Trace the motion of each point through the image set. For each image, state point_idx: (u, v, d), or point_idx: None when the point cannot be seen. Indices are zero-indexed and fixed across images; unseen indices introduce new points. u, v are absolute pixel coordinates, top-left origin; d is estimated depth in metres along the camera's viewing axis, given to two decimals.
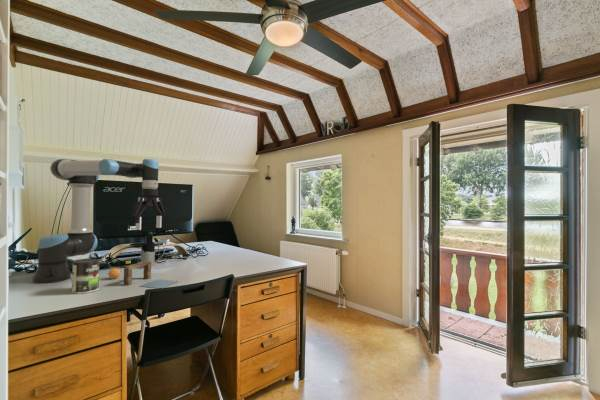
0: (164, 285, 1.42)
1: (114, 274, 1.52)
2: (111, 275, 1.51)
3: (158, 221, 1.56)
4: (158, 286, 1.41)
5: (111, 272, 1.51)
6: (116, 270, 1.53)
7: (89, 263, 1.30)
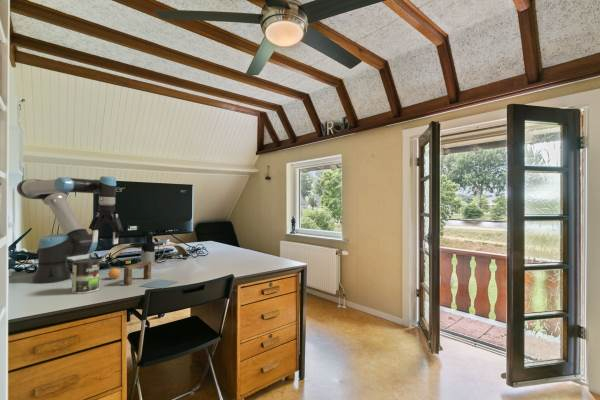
0: (164, 285, 1.42)
1: (114, 274, 1.52)
2: (111, 275, 1.51)
3: None
4: (158, 286, 1.41)
5: (111, 272, 1.51)
6: (116, 270, 1.53)
7: (89, 263, 1.30)
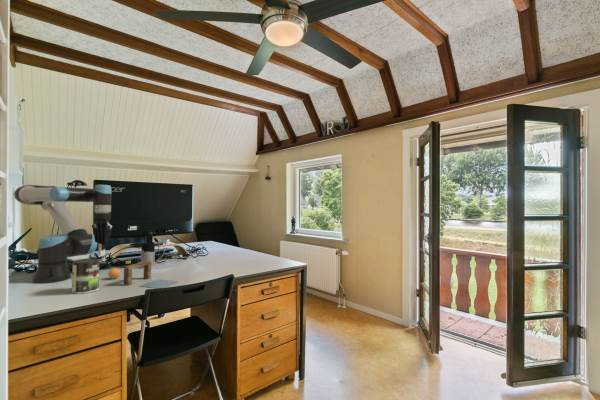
0: (164, 285, 1.42)
1: (114, 274, 1.52)
2: (111, 275, 1.51)
3: None
4: (158, 286, 1.41)
5: (111, 272, 1.51)
6: (116, 270, 1.53)
7: (89, 263, 1.30)
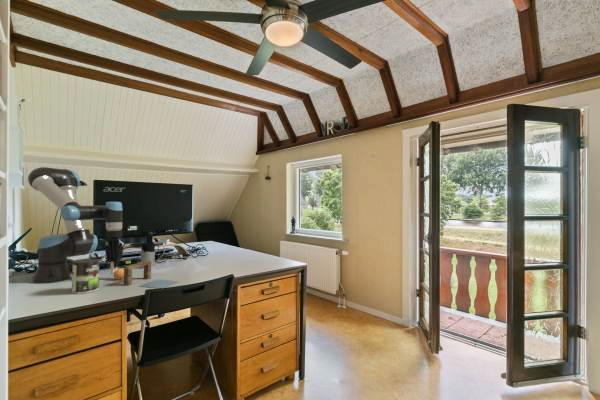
0: (164, 285, 1.42)
1: (118, 278, 1.51)
2: (115, 277, 1.50)
3: None
4: (158, 286, 1.41)
5: (117, 275, 1.50)
6: (122, 276, 1.52)
7: (89, 263, 1.30)
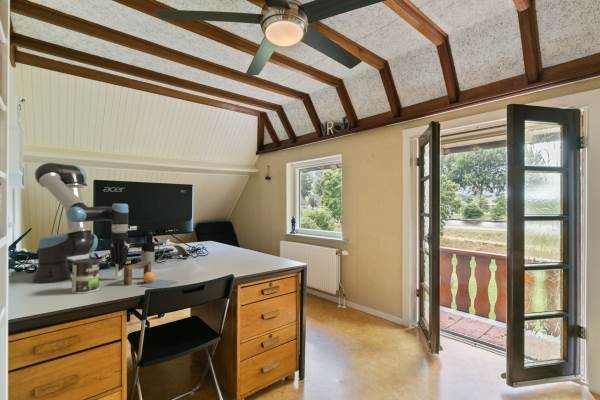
0: (164, 285, 1.42)
1: (145, 281, 1.46)
2: None
3: None
4: (158, 286, 1.41)
5: (146, 280, 1.45)
6: (149, 282, 1.47)
7: (89, 263, 1.30)
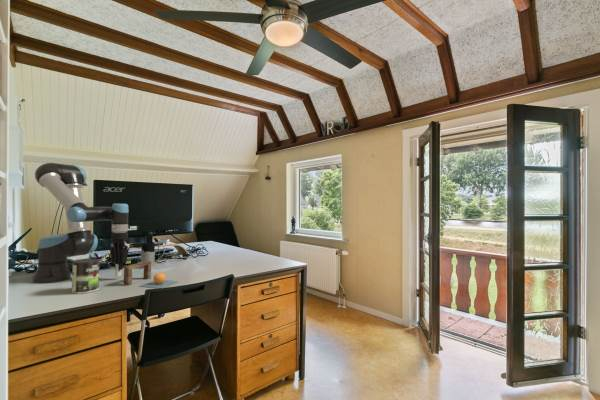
0: (164, 285, 1.42)
1: (155, 275, 1.44)
2: (155, 277, 1.43)
3: None
4: (158, 286, 1.41)
5: (153, 278, 1.44)
6: None
7: (89, 263, 1.30)
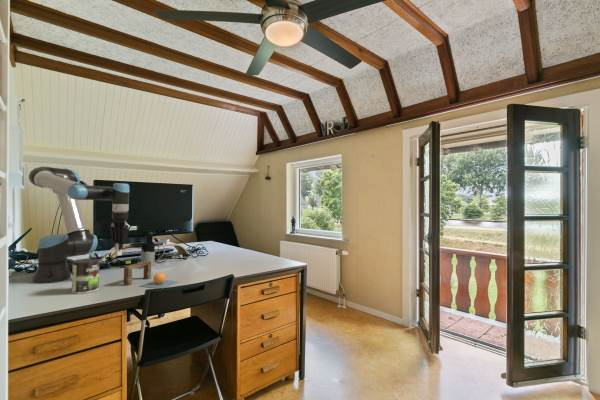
0: (164, 285, 1.42)
1: (155, 275, 1.44)
2: (155, 277, 1.43)
3: None
4: (158, 286, 1.41)
5: (153, 278, 1.44)
6: None
7: (89, 263, 1.30)
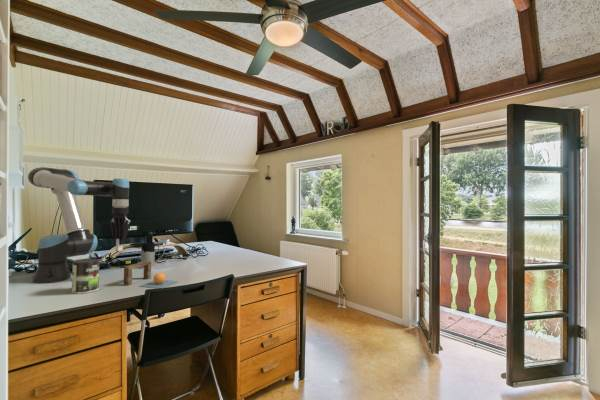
0: (164, 285, 1.42)
1: (155, 275, 1.44)
2: (155, 277, 1.43)
3: None
4: (158, 286, 1.41)
5: (153, 278, 1.44)
6: None
7: (89, 263, 1.30)
